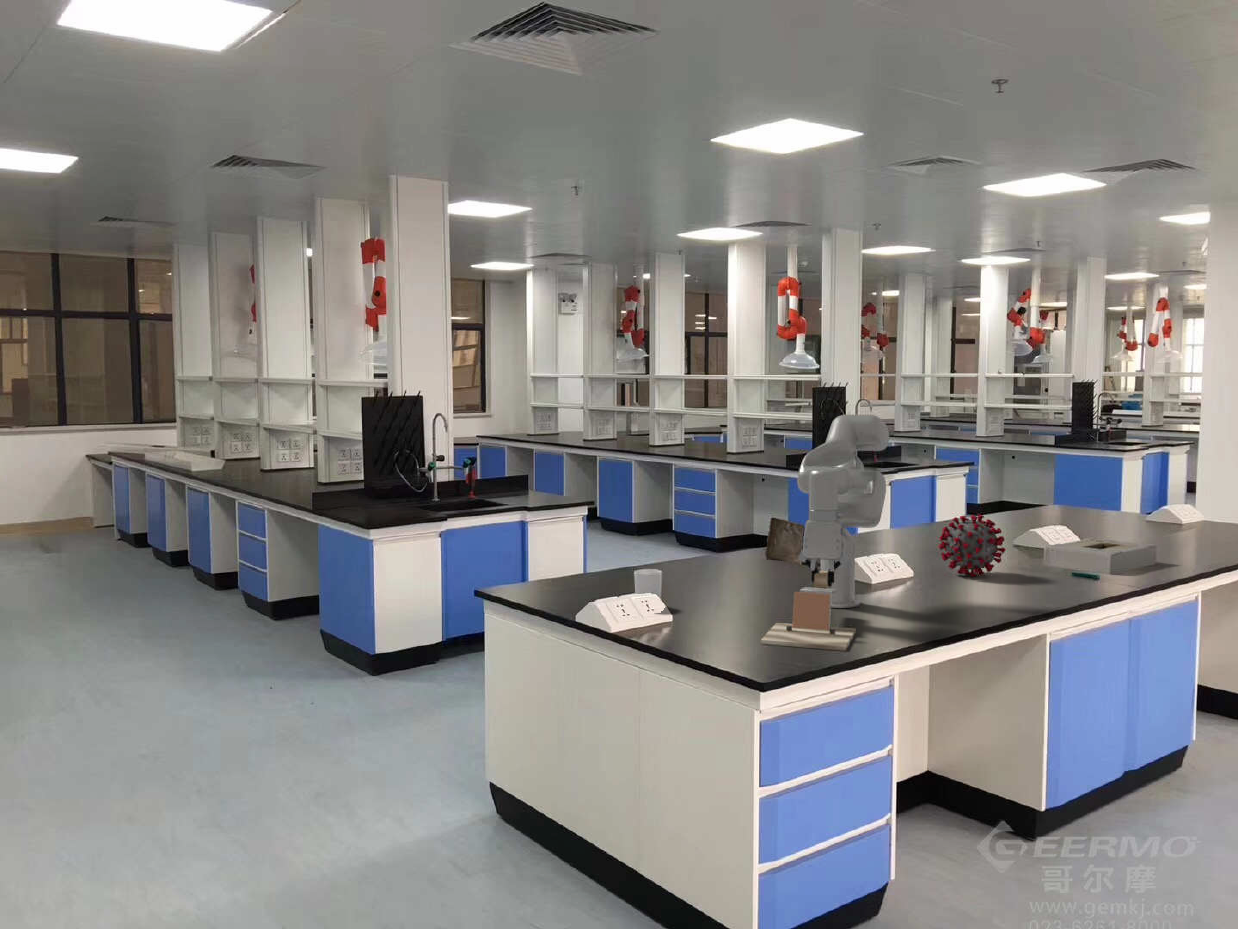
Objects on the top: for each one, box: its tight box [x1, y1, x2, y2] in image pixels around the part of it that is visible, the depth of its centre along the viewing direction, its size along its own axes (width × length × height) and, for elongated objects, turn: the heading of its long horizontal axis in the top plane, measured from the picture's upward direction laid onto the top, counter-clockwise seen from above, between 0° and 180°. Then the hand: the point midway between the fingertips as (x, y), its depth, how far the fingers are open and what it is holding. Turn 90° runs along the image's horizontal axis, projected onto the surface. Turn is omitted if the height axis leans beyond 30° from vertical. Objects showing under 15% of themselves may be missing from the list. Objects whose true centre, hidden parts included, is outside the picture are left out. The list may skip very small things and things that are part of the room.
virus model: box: [938, 514, 1006, 577], centre depth 313 cm, size 20×20×20 cm
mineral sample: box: [765, 517, 805, 565], centre depth 342 cm, size 17×4×15 cm, turn 41°
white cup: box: [633, 568, 663, 600], centre depth 272 cm, size 8×8×10 cm
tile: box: [791, 591, 832, 631], centre depth 239 cm, size 9×9×1 cm
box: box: [1043, 537, 1157, 576], centre depth 330 cm, size 23×8×32 cm
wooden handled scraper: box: [799, 570, 836, 594], centre depth 252 cm, size 19×8×4 cm, turn 159°
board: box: [760, 622, 857, 652], centre depth 236 cm, size 18×20×2 cm
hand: (822, 584), depth 255 cm, fingers closed on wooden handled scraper, 3 cm apart
